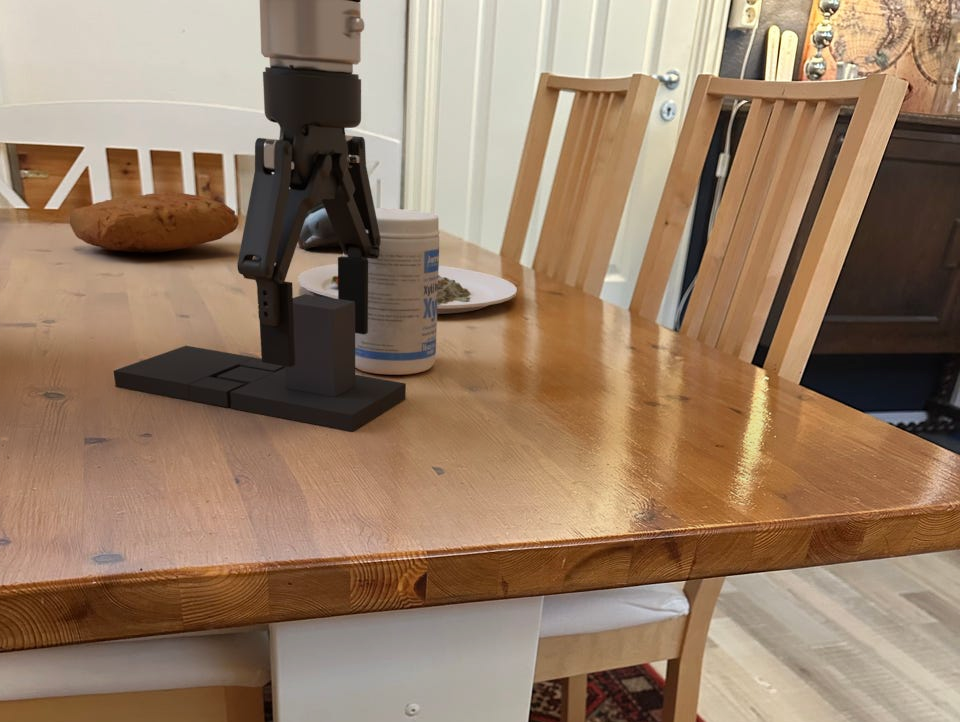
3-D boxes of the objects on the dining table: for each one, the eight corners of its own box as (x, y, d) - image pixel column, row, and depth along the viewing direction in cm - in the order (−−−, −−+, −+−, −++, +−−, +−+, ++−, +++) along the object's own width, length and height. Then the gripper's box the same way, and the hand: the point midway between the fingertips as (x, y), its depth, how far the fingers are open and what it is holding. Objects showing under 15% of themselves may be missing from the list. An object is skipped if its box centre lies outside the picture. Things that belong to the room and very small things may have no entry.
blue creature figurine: (284, 249, 154) (271, 163, 153) (314, 270, 166) (302, 190, 165) (368, 229, 150) (355, 141, 149) (392, 251, 162) (381, 170, 161)
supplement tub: (444, 377, 95) (451, 221, 87) (352, 378, 93) (351, 218, 85) (423, 353, 103) (428, 208, 95) (338, 353, 100) (336, 204, 93)
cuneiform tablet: (199, 240, 157) (195, 188, 152) (248, 258, 146) (244, 202, 142) (65, 246, 144) (56, 189, 140) (108, 266, 133) (100, 204, 129)
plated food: (552, 317, 123) (555, 291, 121) (330, 323, 112) (330, 294, 110) (467, 274, 146) (468, 251, 144) (277, 275, 135) (276, 251, 133)
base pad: (115, 386, 85) (113, 370, 85) (187, 360, 94) (185, 345, 94) (228, 408, 82) (226, 391, 81) (291, 378, 91) (290, 363, 90)
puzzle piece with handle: (195, 401, 83) (185, 297, 78) (261, 373, 92) (255, 277, 87) (352, 431, 79) (352, 323, 74) (405, 398, 88) (408, 300, 83)
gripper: (269, 63, 60) (282, 387, 71) (421, 75, 81) (413, 326, 92) (171, 55, 62) (199, 372, 73) (343, 69, 83) (345, 315, 94)
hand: (318, 347), depth 82 cm, fingers open, 13 cm apart
